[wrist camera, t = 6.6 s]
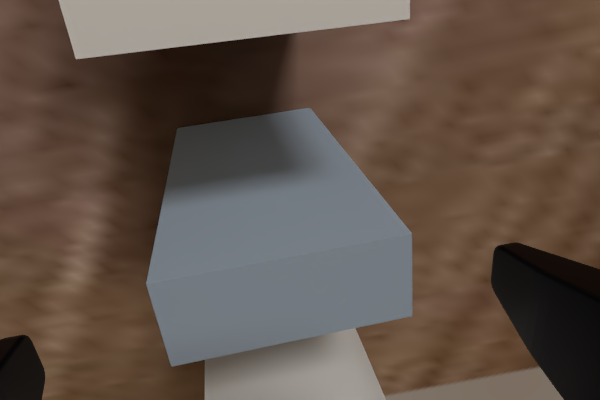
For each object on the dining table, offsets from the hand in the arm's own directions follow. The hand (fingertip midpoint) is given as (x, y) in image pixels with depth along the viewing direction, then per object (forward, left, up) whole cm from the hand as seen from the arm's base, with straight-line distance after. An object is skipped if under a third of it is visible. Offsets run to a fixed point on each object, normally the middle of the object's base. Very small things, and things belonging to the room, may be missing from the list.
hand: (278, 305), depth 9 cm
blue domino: (0, 0, -10) cm, 10 cm away
